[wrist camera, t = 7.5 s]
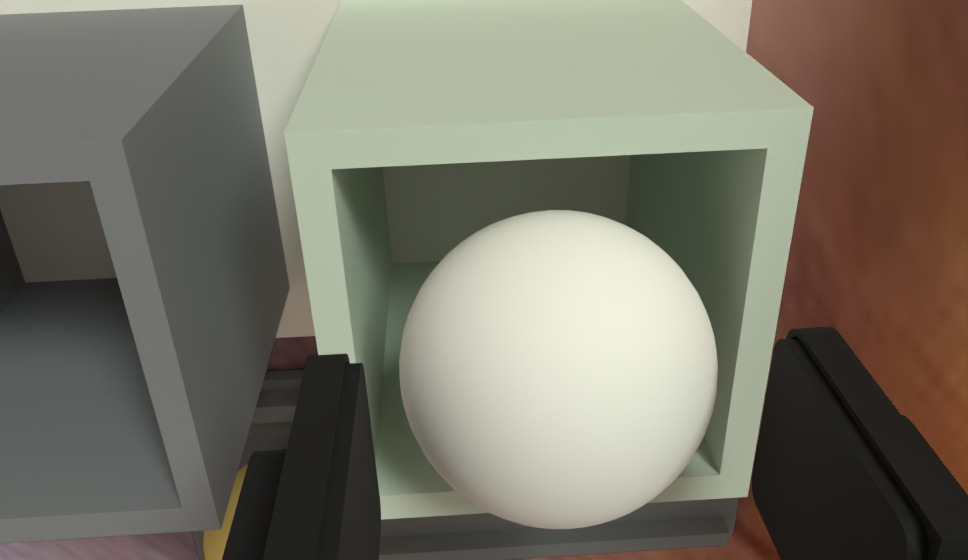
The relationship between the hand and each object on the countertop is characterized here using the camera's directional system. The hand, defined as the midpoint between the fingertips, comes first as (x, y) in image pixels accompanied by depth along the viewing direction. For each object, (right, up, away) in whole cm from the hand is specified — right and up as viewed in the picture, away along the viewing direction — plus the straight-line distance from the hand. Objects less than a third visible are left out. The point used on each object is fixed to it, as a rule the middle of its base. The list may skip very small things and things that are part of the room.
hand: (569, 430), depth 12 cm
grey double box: (-6, +6, +11) cm, 13 cm away
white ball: (0, +2, +4) cm, 4 cm away
